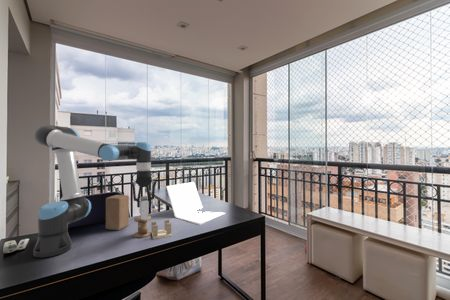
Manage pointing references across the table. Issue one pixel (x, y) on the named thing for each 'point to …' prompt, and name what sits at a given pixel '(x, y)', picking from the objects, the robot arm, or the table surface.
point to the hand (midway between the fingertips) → (144, 212)
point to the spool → (142, 227)
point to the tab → (144, 208)
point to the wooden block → (117, 212)
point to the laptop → (188, 204)
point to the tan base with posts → (161, 233)
